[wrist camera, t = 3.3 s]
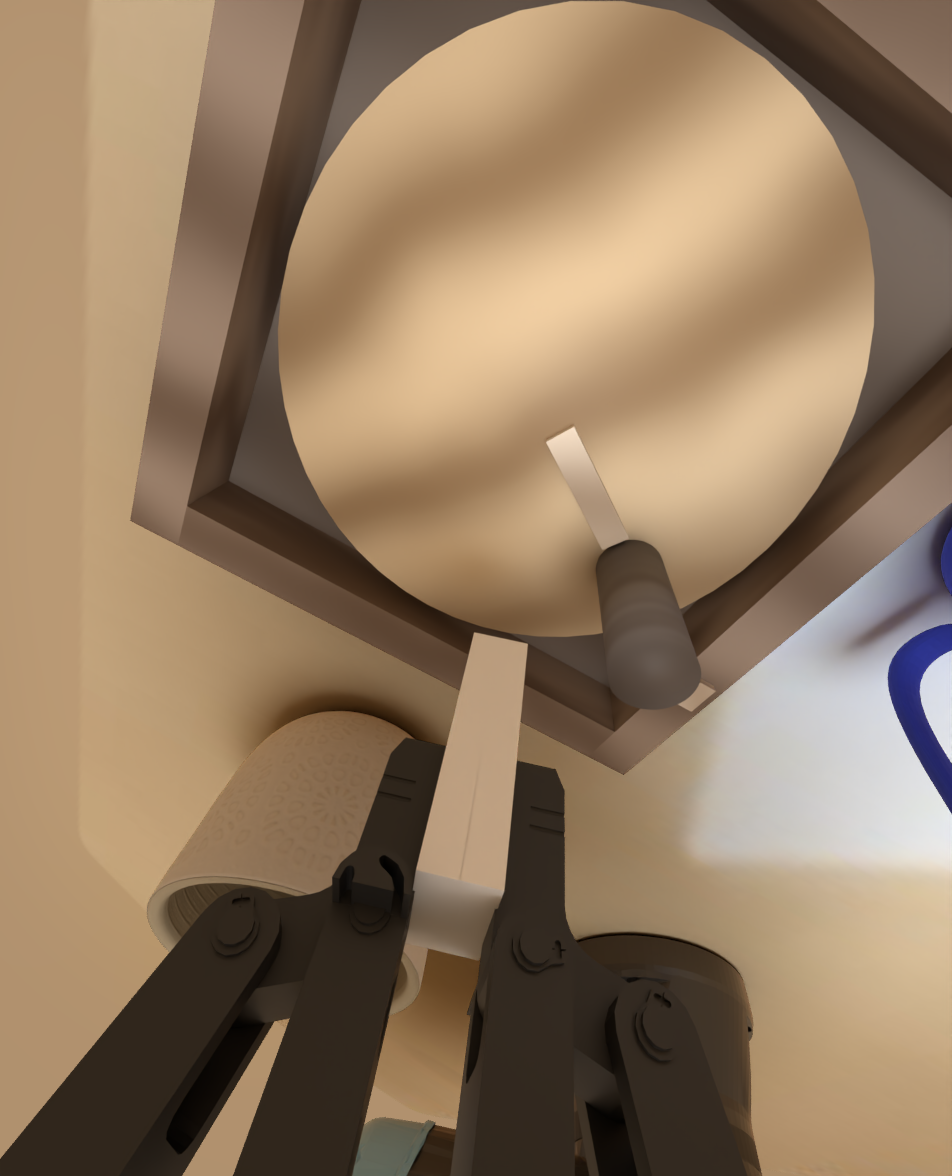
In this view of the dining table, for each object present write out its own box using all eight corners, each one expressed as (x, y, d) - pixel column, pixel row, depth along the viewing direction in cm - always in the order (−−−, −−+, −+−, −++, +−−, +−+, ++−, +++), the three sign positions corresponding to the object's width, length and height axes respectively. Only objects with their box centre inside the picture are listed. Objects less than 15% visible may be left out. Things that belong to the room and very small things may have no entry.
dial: (209, 295, 18) (-16, 307, 11) (728, -176, 11) (996, -911, 4) (468, 656, 25) (431, 805, 18) (888, 493, 18) (1093, 629, 11)
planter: (228, 728, 32) (92, 911, 23) (371, 652, 27) (270, 847, 18) (358, 839, 36) (289, 1031, 27) (502, 792, 31) (477, 1007, 22)
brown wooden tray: (616, 720, 27) (624, 780, 24) (185, 490, 23) (124, 523, 20) (1141, 232, 14) (1307, 219, 11) (388, -412, 11) (316, -699, 8)
